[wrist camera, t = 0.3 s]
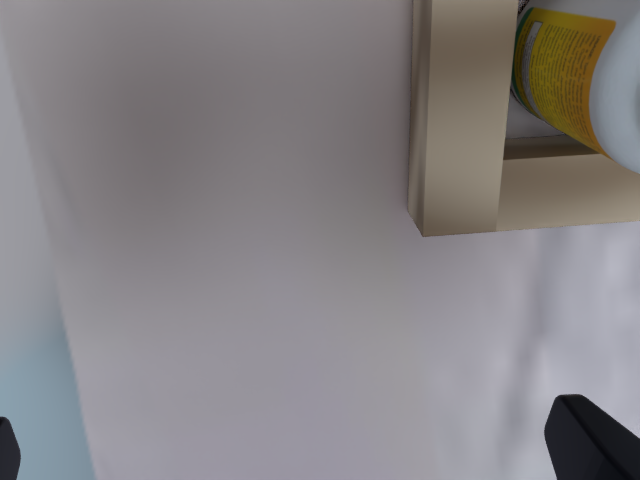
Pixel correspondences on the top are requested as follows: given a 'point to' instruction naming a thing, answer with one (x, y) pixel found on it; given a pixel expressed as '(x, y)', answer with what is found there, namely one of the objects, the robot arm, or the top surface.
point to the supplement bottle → (583, 72)
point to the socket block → (493, 136)
